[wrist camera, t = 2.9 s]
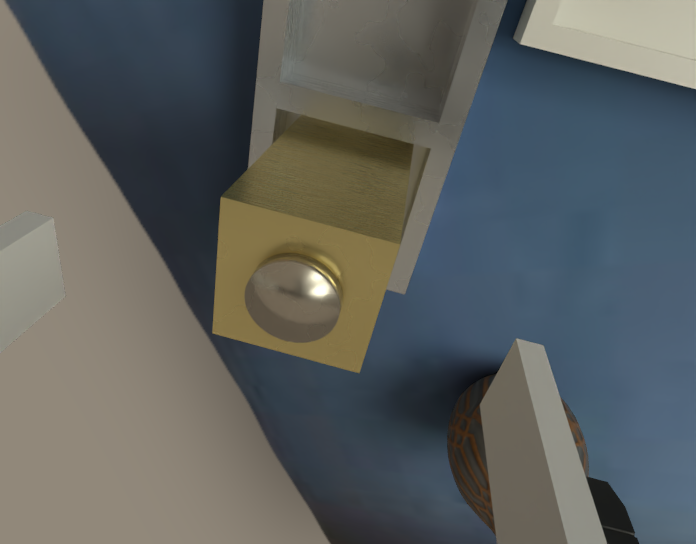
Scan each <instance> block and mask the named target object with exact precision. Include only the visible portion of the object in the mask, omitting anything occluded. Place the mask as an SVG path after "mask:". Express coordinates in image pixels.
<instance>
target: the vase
mask: <svg viewBox="0 0 696 544" xmlns="http://www.w3.org/2000/svg"><path fill="white" fill-rule="evenodd" d="M495 376H496V374H493V375H490V376H487V377H484V378H482V379H480V380H478V381H476V382H475V383H473V384H472V385H471V386H469V387H468V388H467V389H466V390H465V391H464V392H463V393H462V394H461V396H460V397H459V399H458V400H457V402H456V404H455V406H454V409H453V411H452V414H451V417H450V421H449V425H448V435H447V449H448V458H449V463H450V467H451V471H452V474H453V477H454V480H455V482H456V485H457V487H458V489H459V491H460V493H461V495H462V496H463V498H464V499H465V501H466V502H467V504H468V505H469V506H470V507H471V509H472V510H473V511H474V512H475V513H476V514H477V515H478V516H479V517H480V518H481V519H482V521H483V522H484V523H485V524H486V525H487V526H488V527H489V528H490V529H491V530H492V531H493V533H494V534H495V536H496V531H495V523H494V515H493V507H492V499H491V491H490V483H489V475H488V467H487V459H486V451H485V443H484V435H483V427H482V419H481V411H480V403H481V402H482V400H483V398H484V396H485V394H486V392H487V391H488V389H489V387H490V385H491V383H492V382H493V380H494V378H495ZM560 398H561V397H560ZM561 402H562V405H563V408H564V411H565V414H566V417H567V420H568V423H569V426H570V430H571V433H572V436H573V439H574V442H575V445H576V448H577V451H578V454H579V458H580V461H581V464H582V467H583V470H584V473H585V476H586V477H588V473H589V463H588V453H587V448H586V444H585V440H584V437H583V434H582V431H581V429H580V426H579V424H578V422H577V420H576V418H575V416H574V414H573V413H572V411H571V410H570V408H569V407H568V405H567V404H566V403H565V402H564V400H563V399H562V398H561Z"/></svg>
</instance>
